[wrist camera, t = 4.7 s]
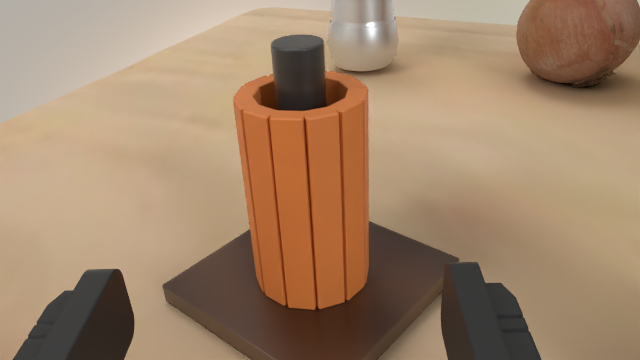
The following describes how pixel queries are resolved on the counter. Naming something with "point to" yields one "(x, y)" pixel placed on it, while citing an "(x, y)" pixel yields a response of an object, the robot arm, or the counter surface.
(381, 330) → the stand
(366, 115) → the orange grooved tube
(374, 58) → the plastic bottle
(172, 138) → the counter surface
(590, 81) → the onion
